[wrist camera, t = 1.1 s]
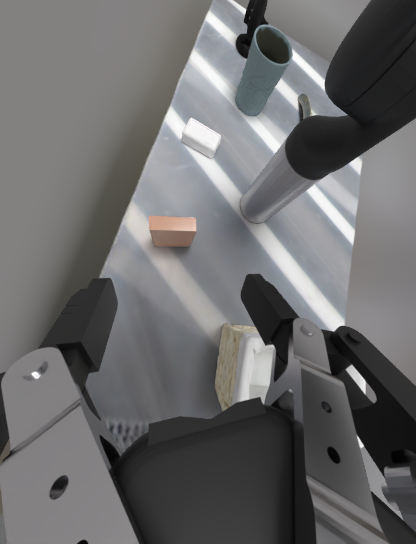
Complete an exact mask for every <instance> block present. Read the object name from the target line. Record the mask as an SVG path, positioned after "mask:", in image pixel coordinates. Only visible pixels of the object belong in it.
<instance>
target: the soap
mask: <svg viewBox="0 0 416 544" xmlns="http://www.w3.org/2000/svg"><path fill="white" fill-rule="evenodd" d="M182 141H183V143H185V144H187V145H189V146H190V147H192V148H194V149H196V150H197V151H199V152H201V153H202V154H204V155H206V156H208V157H209V158H213V157H214V155H215V152H216V150H217V148H218V146H219V144H220V141H221V136H220V135H219V134H218V133H216V132H214V131H213V130H211V129H209V128H208V127H206V126H205V125H203V124H201V123H200V122H198V121H196V120H195V119H193V118H190V119H189V121H188V123H187V125H186V127H185V129H184V130H183V134H182Z"/></svg>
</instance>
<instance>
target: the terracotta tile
mask: <svg viewBox="0 0 416 544" xmlns="http://www.w3.org/2000/svg"><path fill="white" fill-rule="evenodd" d="M149 230H150V233H151V236H152V239H153V242H154V245H155V246H157V247H190V245H191V243H192V241H193V238H194V236H195V234H196V231H197V229H196V218H188V217H166V216H149Z"/></svg>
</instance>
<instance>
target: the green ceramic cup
mask: <svg viewBox="0 0 416 544" xmlns="http://www.w3.org/2000/svg"><path fill="white" fill-rule="evenodd" d="M292 55H293V54H292V47H291V44H290V42H289V41H288V39H287V37H286V36H285V35H284V34H283V33H282V32H281V31H279V30H278V29H277V28H275V27H273V26H270V25H261V26H259V27H258V28H257V29H256V30H255V33H254V36H253V39H252V43H251V46H250V50H249V54H248V58H247V61H246V64H245V68H244V71H243V75H242V78H241V81H240V84H239V87H238V90H237V94H236V104H237V106H238V108H239V109H240V110H241V111H242V112H243V113H245V114H247V115H249V116H256V115H258V114H259V113H260V112H261V110H262V109H263V107H264V105H265V104H266V102H267V99H268V98H269V96H270V94H271V93H272V91H273V89H274V87H275V86H276V85H277V83H278V81H279V80H280V78H281V76H282V75H283V73H284V72H285V70H286V68H287V67H288V65H289V63H290V62H291V59H292Z"/></svg>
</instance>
